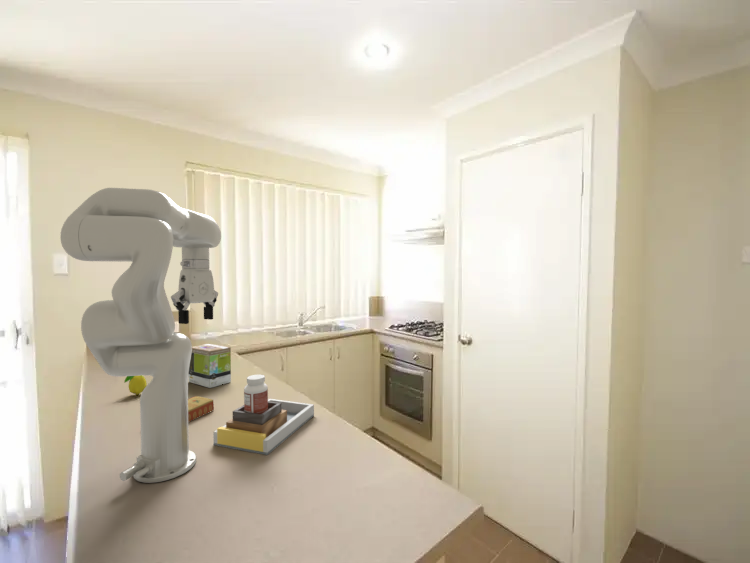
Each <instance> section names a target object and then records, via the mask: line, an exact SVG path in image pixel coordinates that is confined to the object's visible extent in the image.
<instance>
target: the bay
mask: <svg viewBox="0 0 750 563" xmlns="http://www.w3.org/2000/svg"><path fill="white" fill-rule="evenodd" d="M268 401H270V402H278V403H282V410H287V422H286V423H285V424H284V425H282V426H281V427H280V428H278V429H277V430H276V431H274V432H273V433H272V434H271V435H269V436H268V437H267V438H266V434H262V433H256V432H250V431H244V430H238V429H232V428H226V424H224V425H223V426H219V427H217V428H216V430H214V431H213V446H216V445H217V447H221V446H222V448H227V447H228V448H227V449H233V450H237V449H238V450H237V451H245V452H248V453H253V454H254V453H255V454H260V455H265V456H268V455H270V453H272V452H273V451H274V450H276V448H278V447H279V446H280V445H281V444H282V443H283V442H285V441H286V440H288V438H289V437H291V436H292V435H293V434H294V433H295V432H297V431H298V430H299V429H300V428H301V427H302V426H304V425H305V424H306V423H307V422H308V421H310V420H311V419H312V418H313V417H314V416H315V404H312V403H307V402H305V403H304V402H299V401H298V402H297V401H290V400H281V399H274V398H268Z"/></svg>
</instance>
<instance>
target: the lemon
mask: <svg viewBox="0 0 750 563" xmlns="http://www.w3.org/2000/svg"><path fill="white" fill-rule="evenodd" d="M148 376H149V377H150V375H148ZM123 383H128V391H129V393H132V394H135V396H138V395H141V394H142V392H143V390H144V389H145V387H146V386H147V385H148V383H147V379H146V378H145V375H140V376H125V379H124V382H123Z"/></svg>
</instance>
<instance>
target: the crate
mask: <svg viewBox="0 0 750 563" xmlns="http://www.w3.org/2000/svg"><path fill="white" fill-rule="evenodd" d="M286 422H287V410H282V403H278V402H270V401H268V410H267V411H265V412H264V413H262V414H257V413H250V412H244V404H243V405H241V406H239V407H238V408H236V409H234V410H232V418H231V419H228V420H227V421H226V422H225V425H226V428H232V429H238V430H244V431H250V432H256V433H262V434H266V438H267V437H268V436H269V435H271V434H272V433H273V432H274V431H276V430H277V429H278V428H280V427H281V426H282V425H284V424H285V423H286Z"/></svg>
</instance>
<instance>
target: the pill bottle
mask: <svg viewBox="0 0 750 563" xmlns="http://www.w3.org/2000/svg"><path fill="white" fill-rule="evenodd" d="M265 381H266V377H265V375H264V374H252V375H249V376H247V377H246V385H245V386H244V388H243V400H244V402H243V403H244V404H243V405H244V412H250V413H257V414H262V413H264V412H265V411H267V410H268V399H269V393H268V392H269V390H268V388H269V387H268V384H267V383H266V382H265Z"/></svg>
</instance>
